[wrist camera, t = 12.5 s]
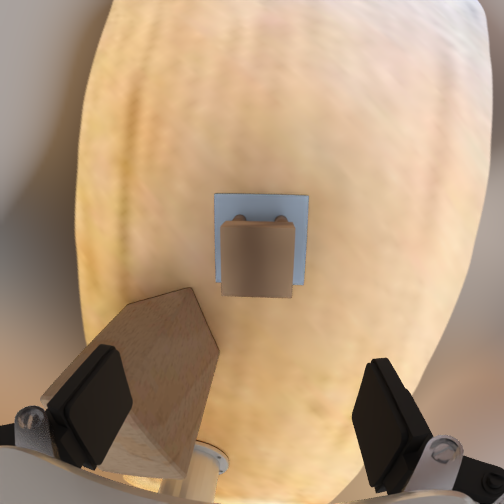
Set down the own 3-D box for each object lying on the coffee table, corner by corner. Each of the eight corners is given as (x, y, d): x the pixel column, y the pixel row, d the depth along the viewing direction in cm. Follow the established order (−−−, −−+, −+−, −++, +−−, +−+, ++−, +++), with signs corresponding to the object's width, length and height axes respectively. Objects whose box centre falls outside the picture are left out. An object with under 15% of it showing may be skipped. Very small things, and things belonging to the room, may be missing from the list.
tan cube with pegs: (288, 214, 31) (295, 228, 23) (286, 268, 32) (291, 297, 24) (232, 213, 31) (220, 226, 23) (232, 266, 32) (221, 295, 25)
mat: (303, 283, 33) (303, 284, 33) (216, 280, 34) (215, 282, 33) (308, 195, 30) (308, 196, 30) (215, 193, 31) (214, 193, 30)
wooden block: (126, 303, 35) (36, 398, 16) (192, 285, 34) (118, 400, 15) (157, 364, 38) (100, 472, 18) (221, 352, 36) (187, 481, 17)
